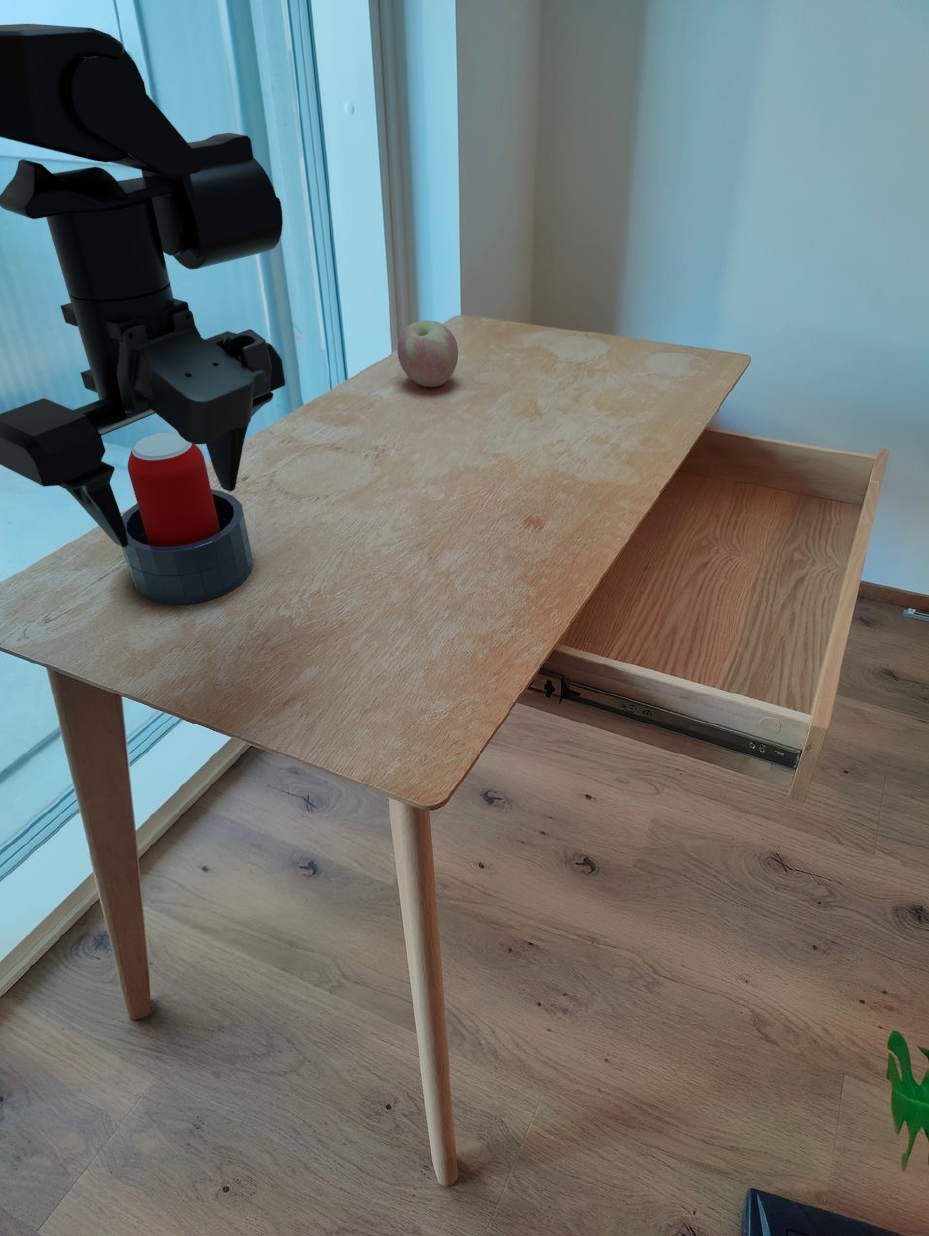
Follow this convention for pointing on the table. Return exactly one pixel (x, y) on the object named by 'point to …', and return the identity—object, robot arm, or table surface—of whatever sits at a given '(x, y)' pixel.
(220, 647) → the table surface
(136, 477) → the beverage can
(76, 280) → the robot arm
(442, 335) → the apple
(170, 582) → the pot
